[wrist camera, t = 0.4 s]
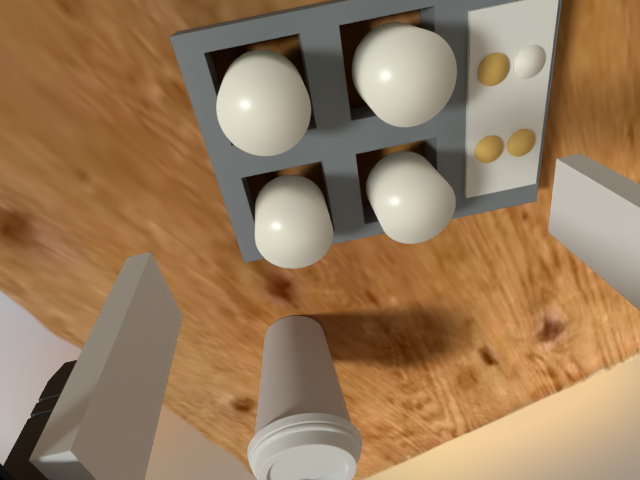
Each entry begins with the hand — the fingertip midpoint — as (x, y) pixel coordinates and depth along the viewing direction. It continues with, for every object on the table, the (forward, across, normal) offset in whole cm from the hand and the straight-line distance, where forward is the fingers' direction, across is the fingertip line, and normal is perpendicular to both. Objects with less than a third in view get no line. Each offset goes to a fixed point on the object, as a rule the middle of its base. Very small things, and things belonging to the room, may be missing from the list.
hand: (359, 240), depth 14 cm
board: (+22, +5, -3) cm, 23 cm away
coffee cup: (+22, -6, -25) cm, 34 cm away
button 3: (+19, +6, -8) cm, 21 cm away
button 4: (+19, +6, +1) cm, 20 cm away
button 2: (+19, -3, +1) cm, 19 cm away
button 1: (+19, -3, -8) cm, 21 cm away
